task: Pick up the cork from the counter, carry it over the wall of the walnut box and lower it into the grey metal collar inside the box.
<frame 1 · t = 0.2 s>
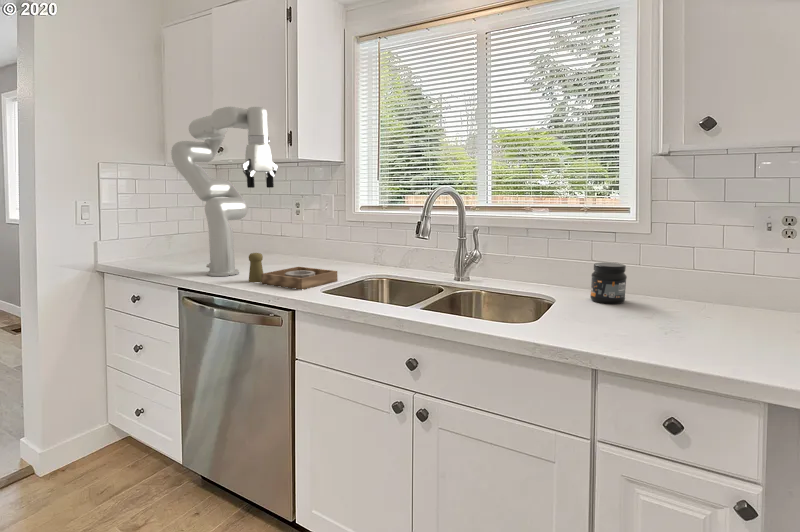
hand: (260, 187, 198), 36 cm above the worktop, tool pointing down, fingers open, 9 cm apart
supplement container: (607, 301, 168), on the worktop
cork: (256, 281, 200), on the worktop
box: (300, 282, 198), on the worktop
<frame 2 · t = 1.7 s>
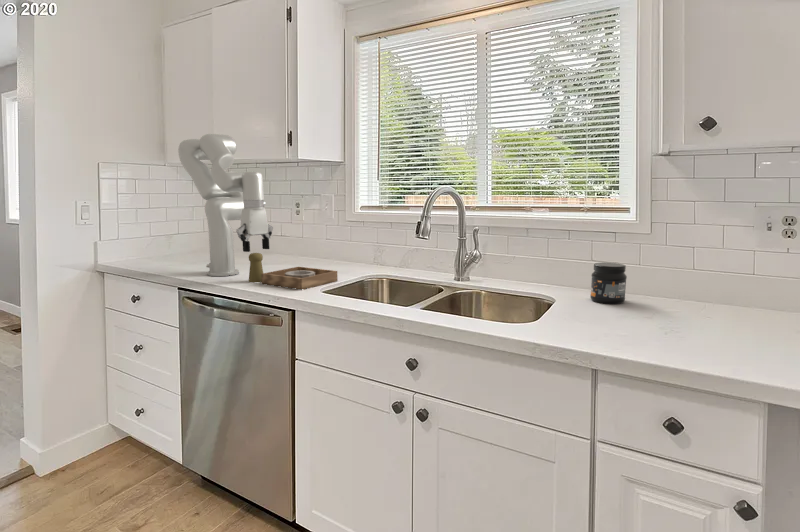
hand: (256, 250, 198), 12 cm above the worktop, tool pointing down, fingers open, 9 cm apart
nothing on the worktop moved.
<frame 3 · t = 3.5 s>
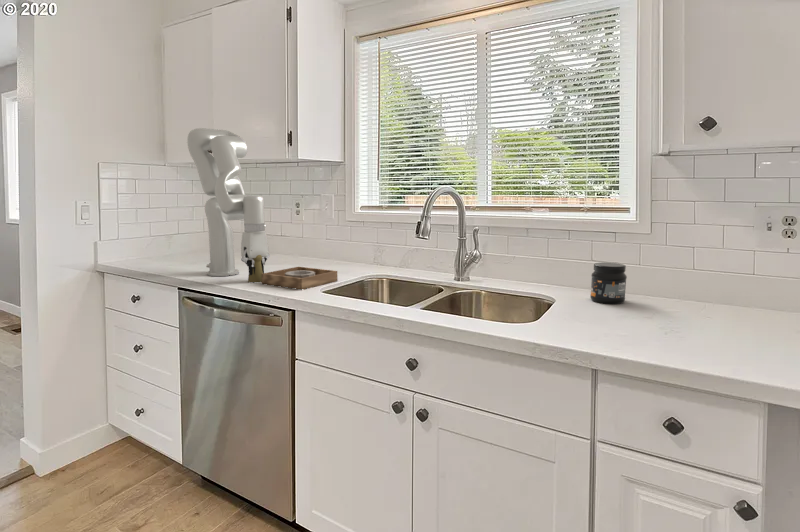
hand: (256, 275, 200), 2 cm above the worktop, tool pointing down, fingers closed on cork, 3 cm apart
cork: (256, 282, 200), on the worktop, touching gripper
everything else where it was.
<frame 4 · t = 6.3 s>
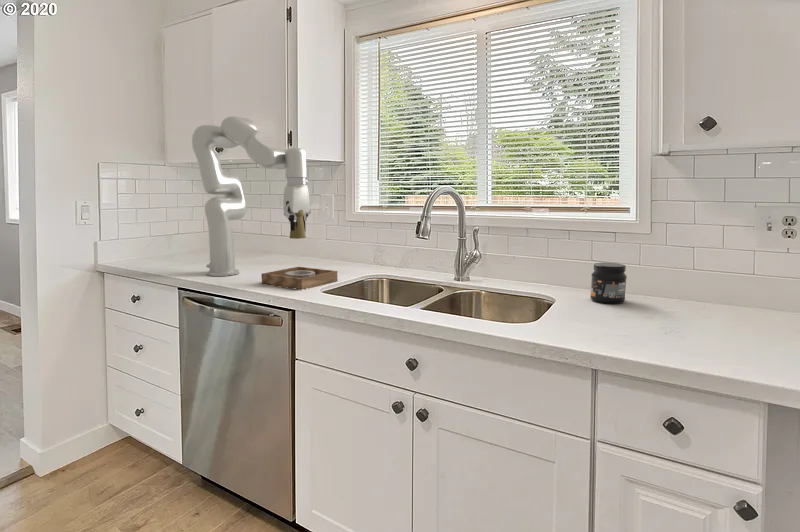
hand: (298, 231, 195), 19 cm above the worktop, tool pointing down, fingers closed on cork, 3 cm apart
cork: (297, 238, 195), point 17 cm above the worktop, touching gripper
everything else where it was.
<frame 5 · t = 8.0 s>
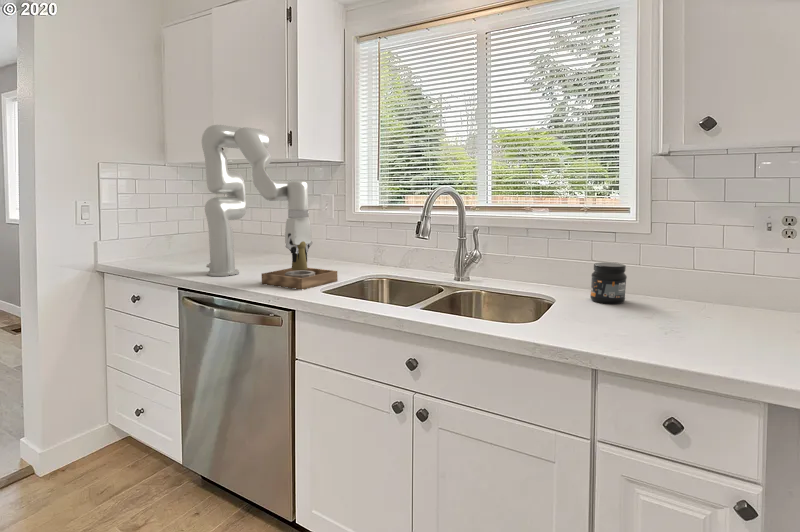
hand: (299, 262, 197), 8 cm above the worktop, tool pointing down, fingers closed on cork, 3 cm apart
cork: (299, 269, 197), point 5 cm above the worktop, touching gripper
everything else where it was.
when the fingers open (5 cm above the worktop, at t = 9.2 s): cork drops 1 cm, resting on box.
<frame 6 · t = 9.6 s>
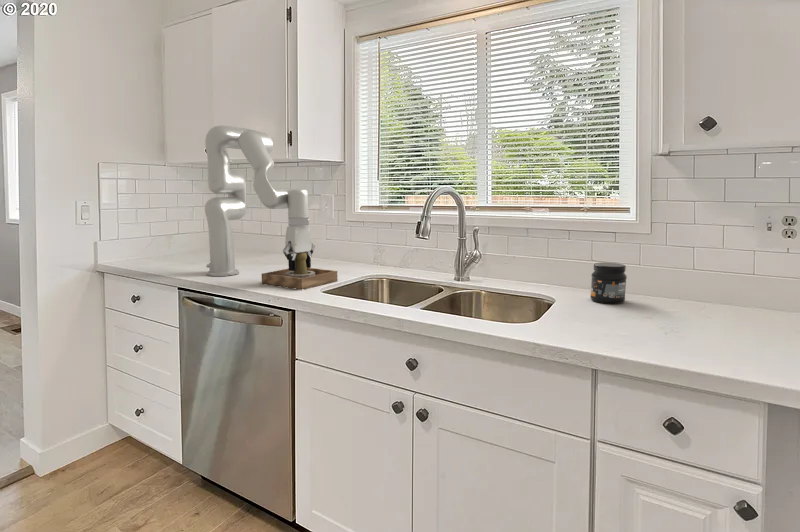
hand: (299, 268, 197), 5 cm above the worktop, tool pointing down, fingers open, 7 cm apart
cork: (300, 280, 198), point 1 cm above the worktop, touching box
everything else where it was.
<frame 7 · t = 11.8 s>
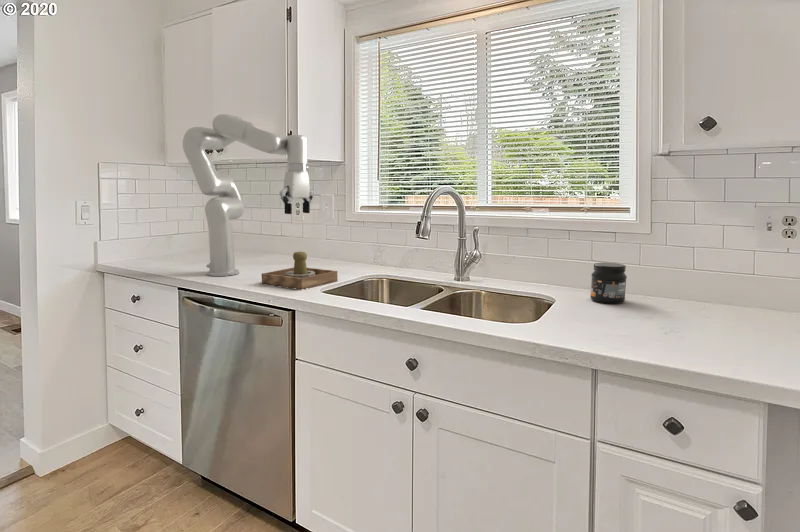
hand: (297, 213, 201), 26 cm above the worktop, tool pointing down, fingers open, 9 cm apart
nothing on the worktop moved.
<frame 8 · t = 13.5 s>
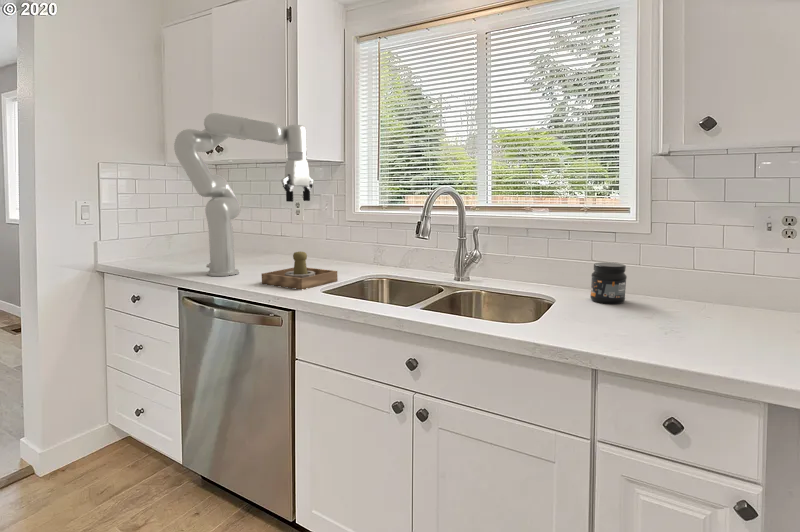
hand: (298, 201, 208), 30 cm above the worktop, tool pointing down, fingers open, 9 cm apart
nothing on the worktop moved.
at the end: cork 0.4 cm off-centre on the box, point 0.6 cm above the box's base; cork tilted 0°; the gripper is holding nothing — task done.
